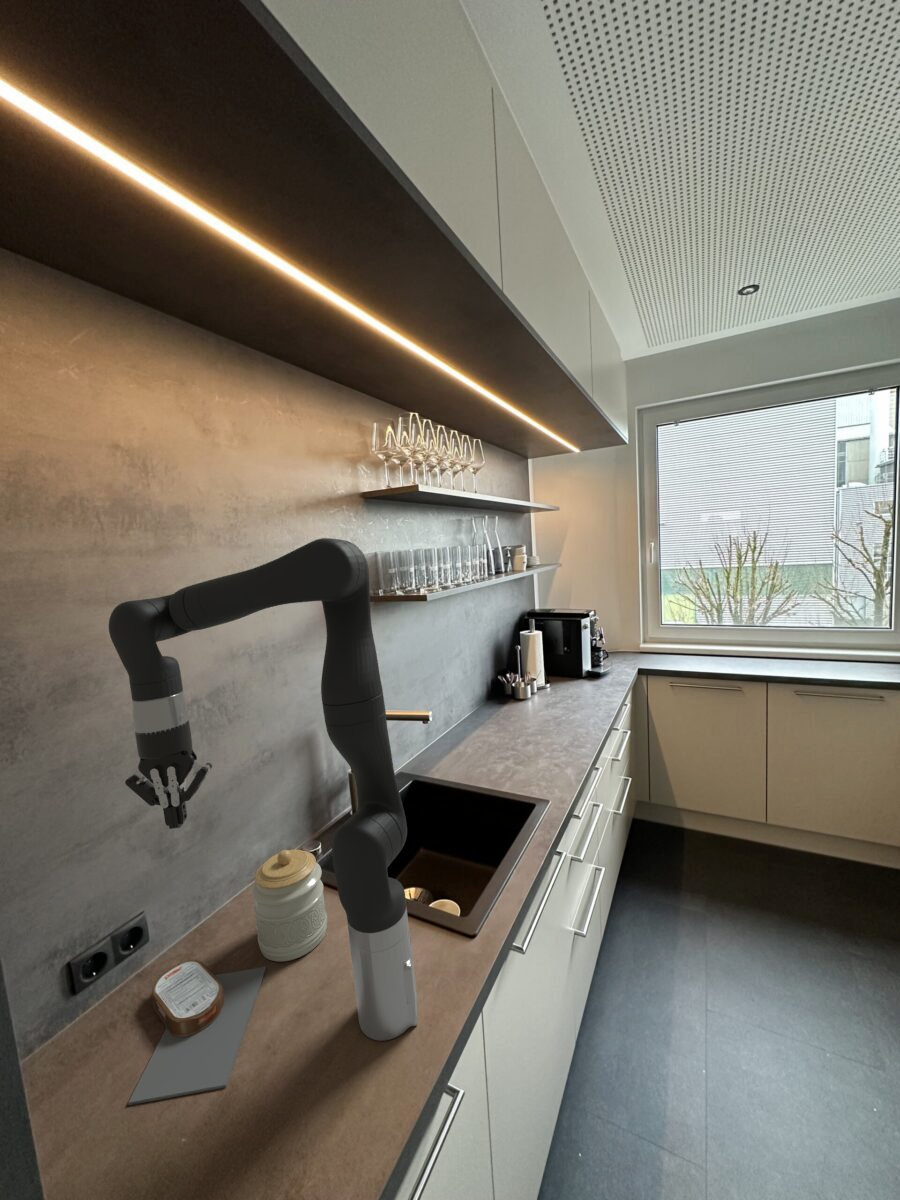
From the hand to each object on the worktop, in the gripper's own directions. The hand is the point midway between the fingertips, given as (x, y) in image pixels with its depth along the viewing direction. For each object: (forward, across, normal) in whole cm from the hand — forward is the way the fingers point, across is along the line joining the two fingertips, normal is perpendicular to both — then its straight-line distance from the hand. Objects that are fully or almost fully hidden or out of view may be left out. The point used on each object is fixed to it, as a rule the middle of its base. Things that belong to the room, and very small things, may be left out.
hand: (177, 825), depth 79 cm
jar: (+32, -12, -12) cm, 36 cm away
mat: (+32, -2, +4) cm, 32 cm away
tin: (+30, +6, +2) cm, 30 cm away
